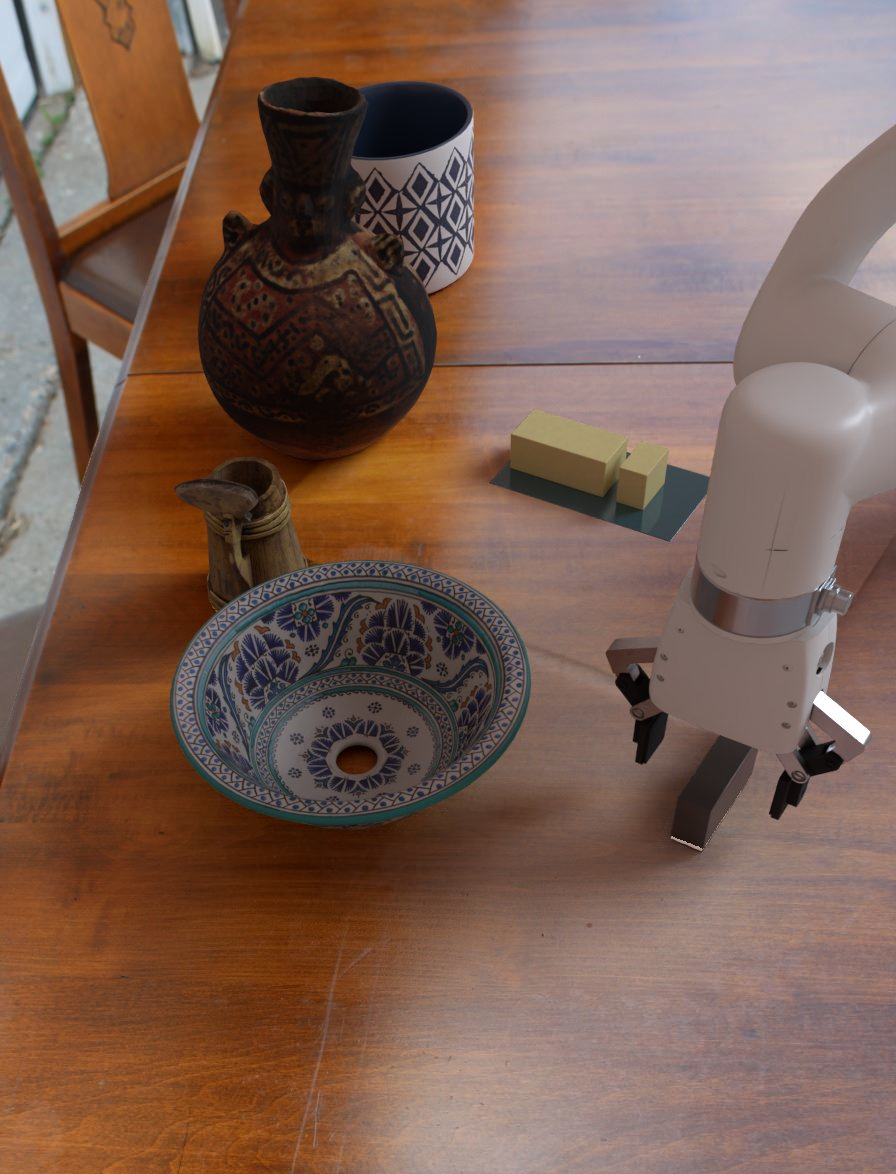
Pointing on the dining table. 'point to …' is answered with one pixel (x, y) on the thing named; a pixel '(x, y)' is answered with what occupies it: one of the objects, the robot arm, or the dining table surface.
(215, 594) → the wooden mug
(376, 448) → the dining table surface
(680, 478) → the flat slate board
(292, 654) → the bowl
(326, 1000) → the dining table surface
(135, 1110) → the dining table surface
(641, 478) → the butter slice
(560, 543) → the dining table surface
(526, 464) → the butter stick
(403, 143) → the planter
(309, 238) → the ceramic vessel
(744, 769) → the knife
